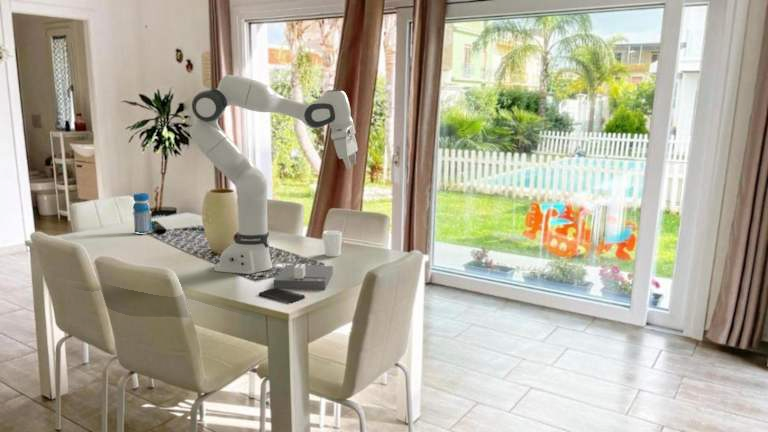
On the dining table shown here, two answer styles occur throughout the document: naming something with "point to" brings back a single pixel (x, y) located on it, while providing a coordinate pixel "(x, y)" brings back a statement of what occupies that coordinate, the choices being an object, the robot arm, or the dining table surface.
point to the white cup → (332, 243)
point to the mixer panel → (312, 280)
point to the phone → (281, 295)
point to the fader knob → (299, 271)
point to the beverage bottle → (142, 213)
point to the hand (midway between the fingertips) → (351, 166)
